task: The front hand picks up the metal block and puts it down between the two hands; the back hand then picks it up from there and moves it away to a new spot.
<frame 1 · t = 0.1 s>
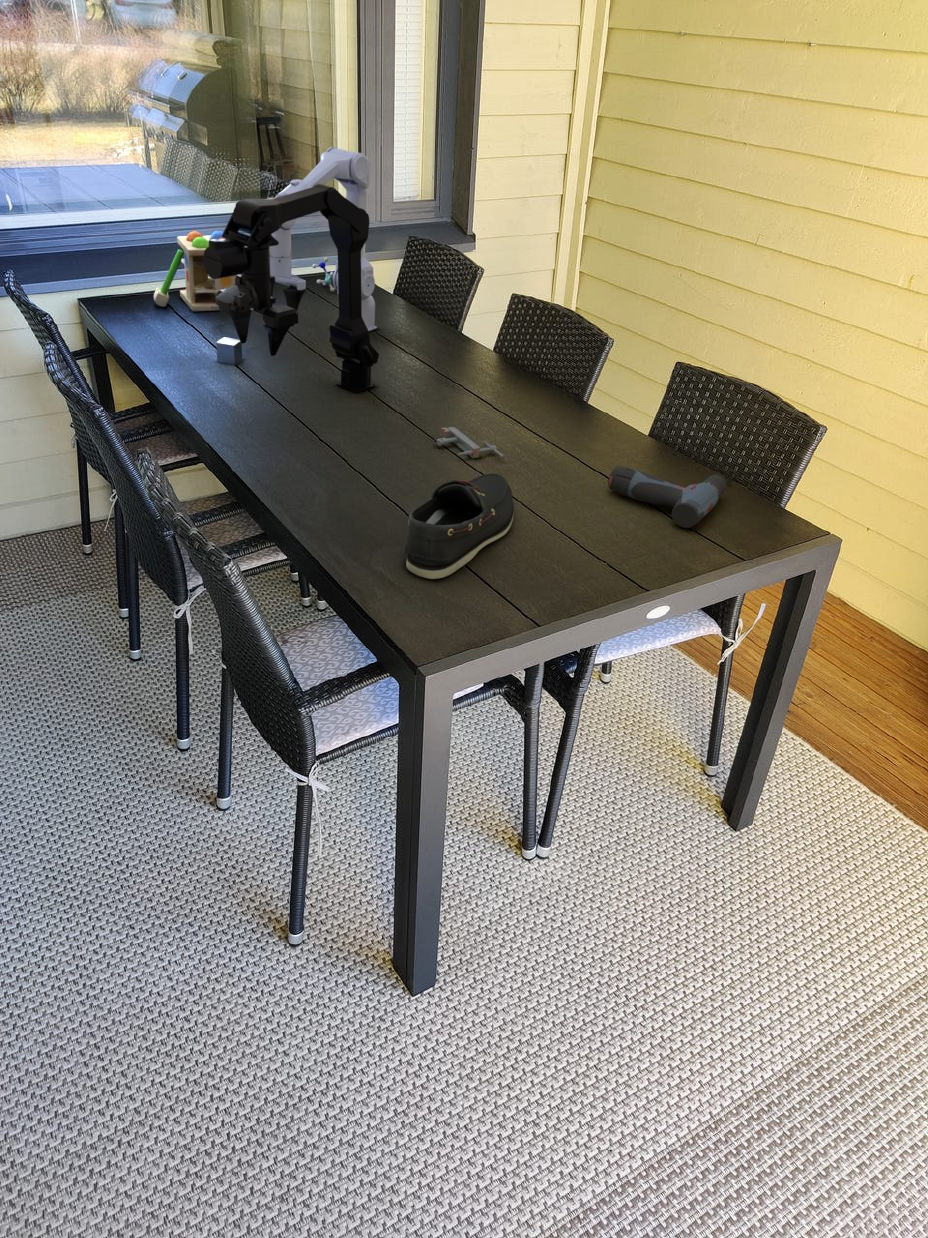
front hand: (258, 349, 199), 15 cm above the table, tool pointing down, fingers open, 9 cm apart
back hand: (280, 313, 233), 10 cm above the table, tool pointing down, fingers open, 7 cm apart
boat shoe: (460, 536, 172), on the table
metal block: (230, 360, 233), on the table
molecular model: (331, 287, 289), on the table
clamp: (466, 451, 202), on the table
pounding bench toy: (197, 303, 266), on the table
power drill: (664, 499, 191), on the table
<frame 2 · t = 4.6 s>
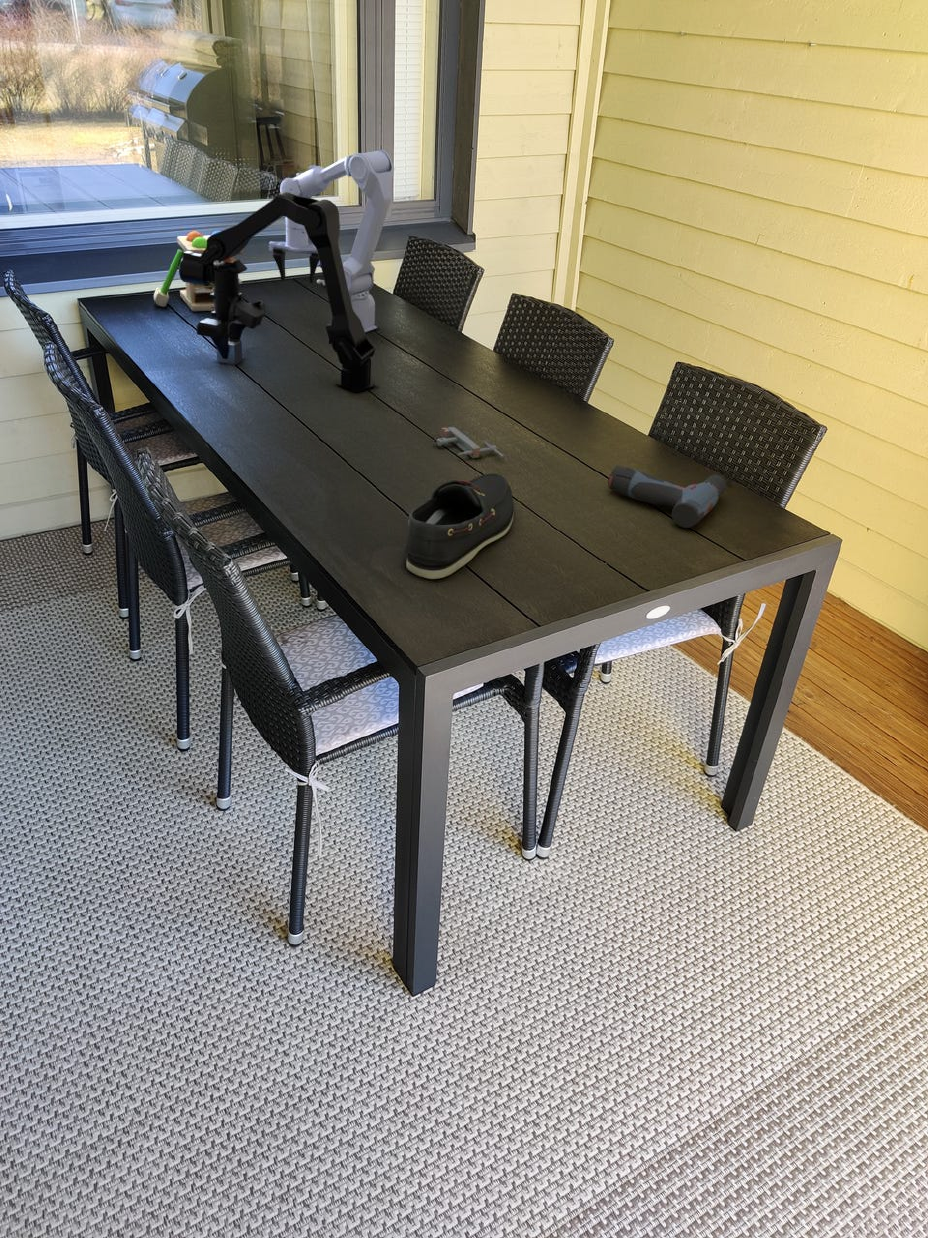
front hand: (229, 355, 232), 1 cm above the table, tool pointing down, fingers closed on metal block, 4 cm apart
back hand: (297, 280, 262), 9 cm above the table, tool pointing down, fingers open, 7 cm apart
metal block: (230, 360, 233), on the table, touching front hand
everything else where it was.
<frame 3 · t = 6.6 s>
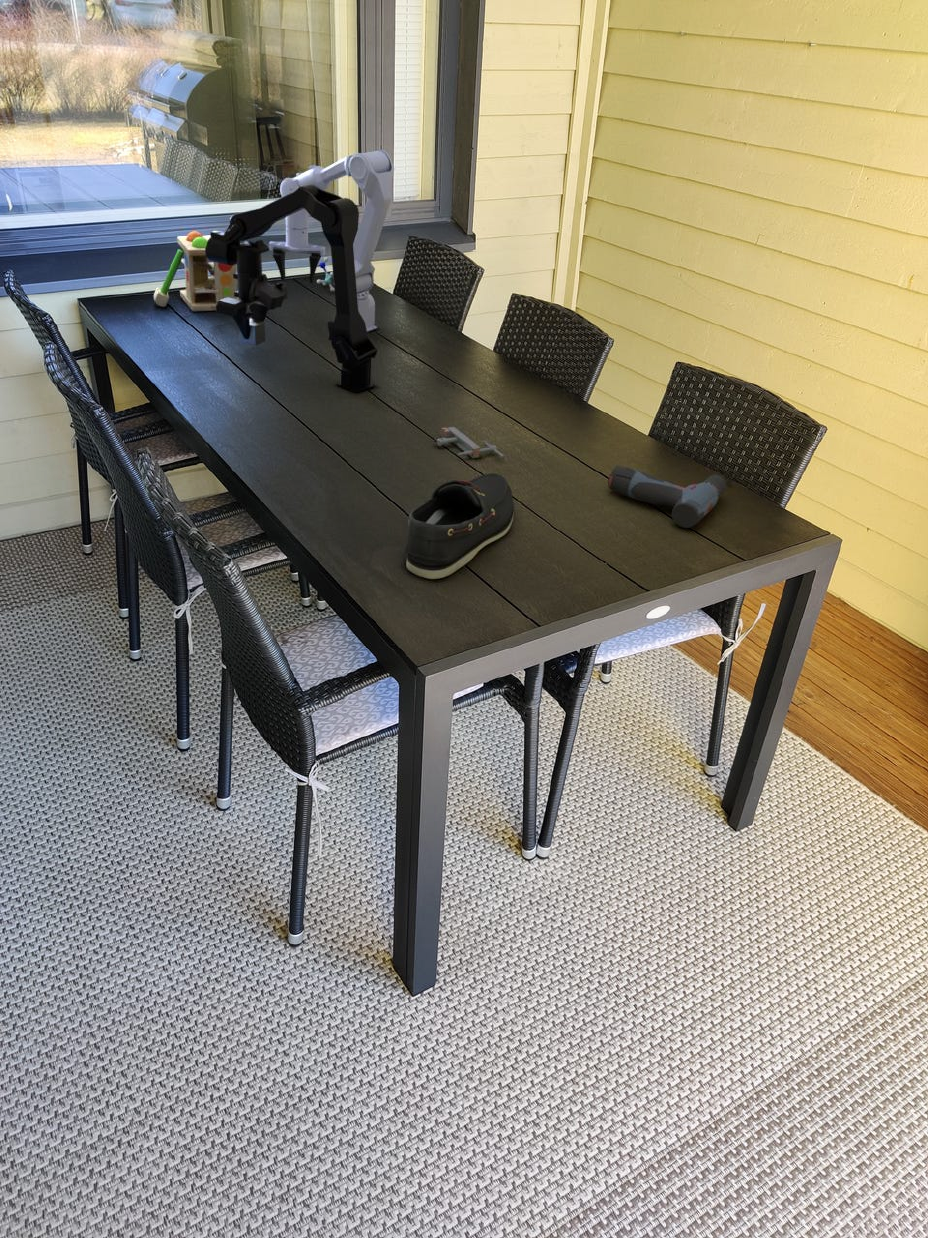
front hand: (252, 336, 234), 5 cm above the table, tool pointing down, fingers closed on metal block, 4 cm apart
back hand: (297, 280, 262), 9 cm above the table, tool pointing down, fingers open, 7 cm apart
metal block: (252, 341, 234), point 4 cm above the table, touching front hand
everything else where it was.
when the front hand's fingers open (2 cm above the table, at t = 8.9 s): metal block stays where it is, on the table.
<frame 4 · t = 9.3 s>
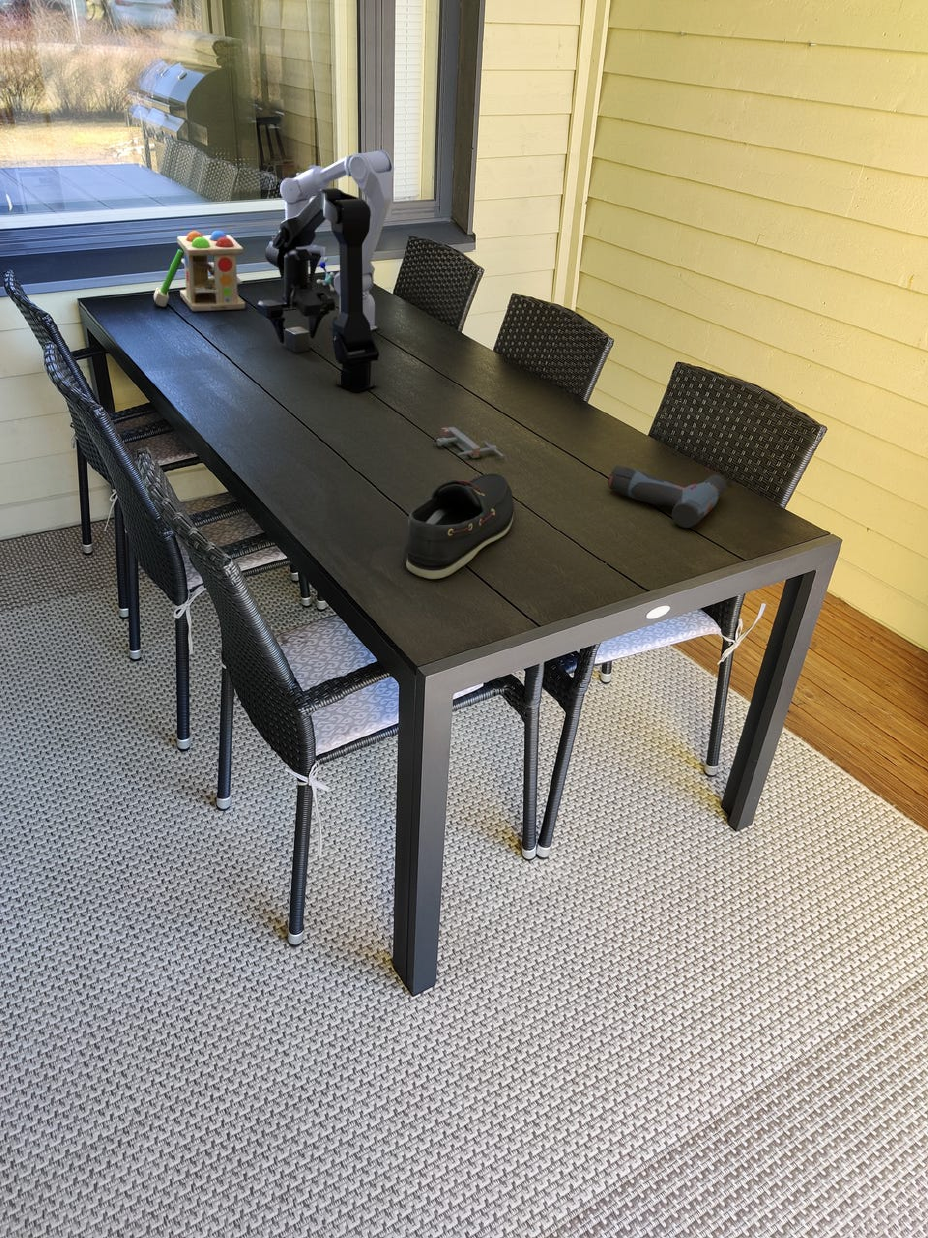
front hand: (297, 340, 242), 2 cm above the table, tool pointing down, fingers open, 8 cm apart
back hand: (297, 280, 262), 9 cm above the table, tool pointing down, fingers open, 7 cm apart
metal block: (297, 348, 243), on the table
everything else where it was.
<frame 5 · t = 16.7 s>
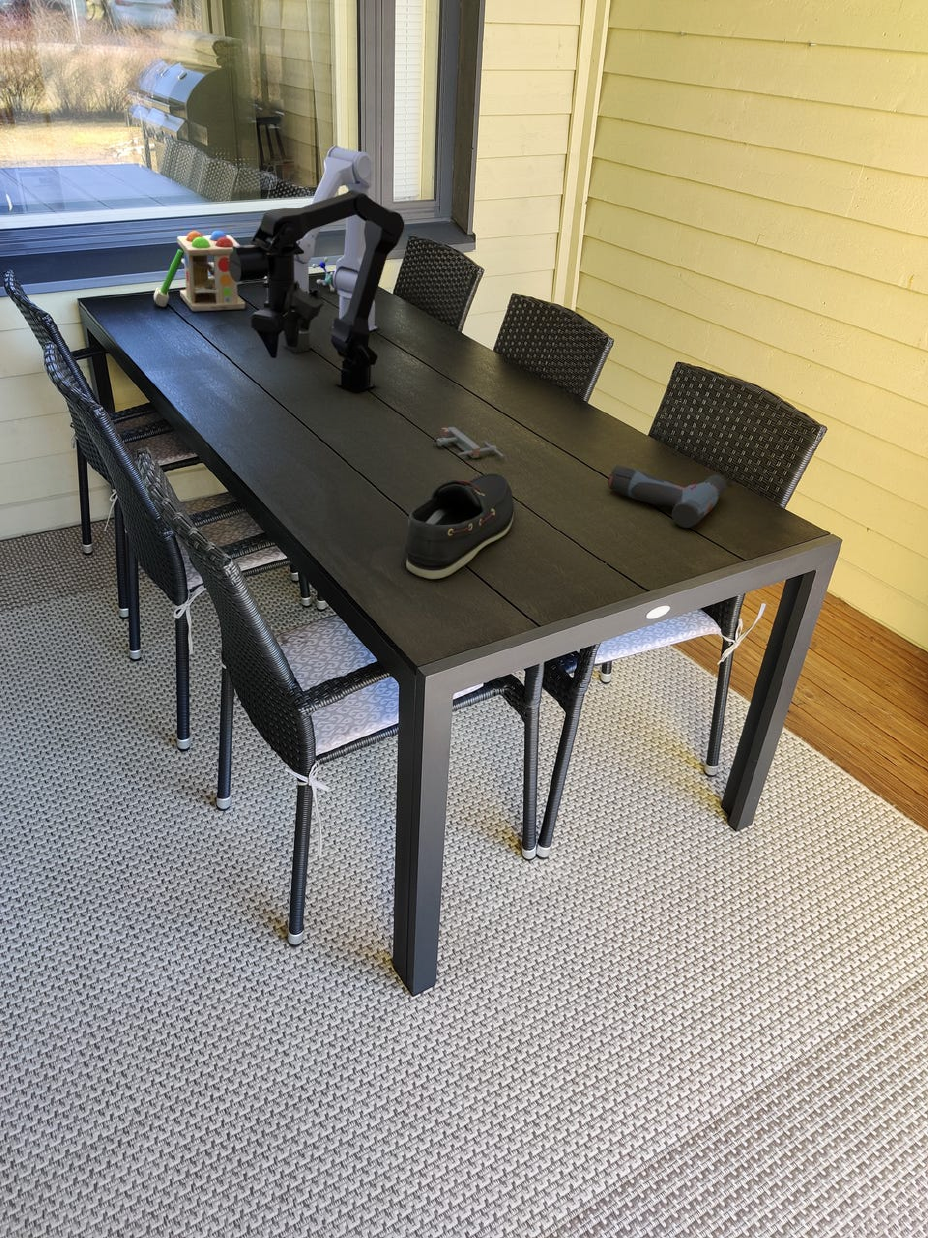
front hand: (282, 350, 210), 11 cm above the table, tool pointing down, fingers open, 9 cm apart
back hand: (297, 342, 243), 2 cm above the table, tool pointing down, fingers closed on metal block, 6 cm apart
metal block: (297, 348, 244), on the table, touching back hand
everything else where it was.
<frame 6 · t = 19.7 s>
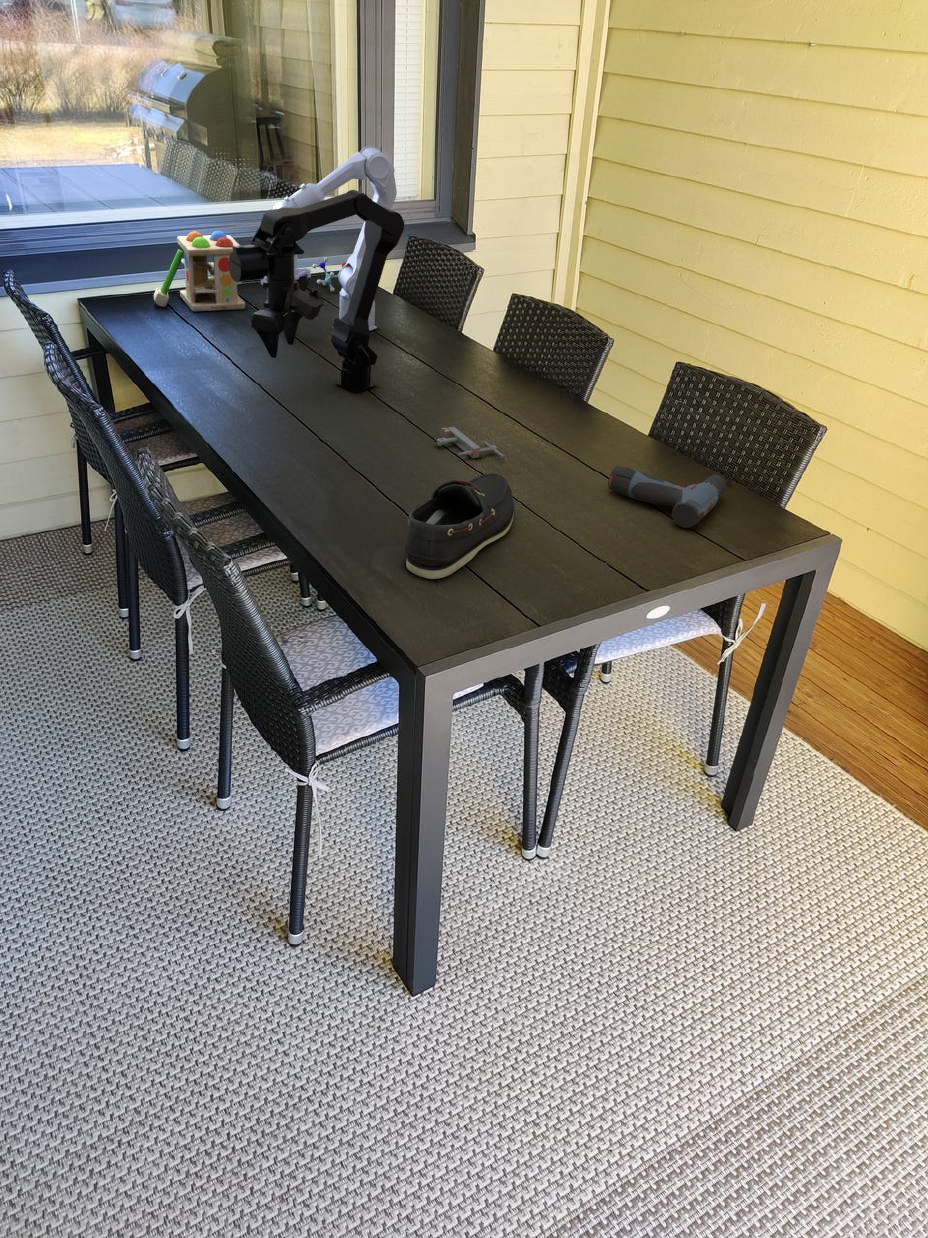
front hand: (282, 350, 210), 11 cm above the table, tool pointing down, fingers open, 9 cm apart
back hand: (286, 309, 251), 6 cm above the table, tool pointing down, fingers closed on metal block, 6 cm apart
metal block: (286, 315, 252), point 4 cm above the table, touching back hand
everything else where it was.
when the back hand's fingers open (3 cm above the table, at t = 22.7 s): metal block stays where it is, on the table.
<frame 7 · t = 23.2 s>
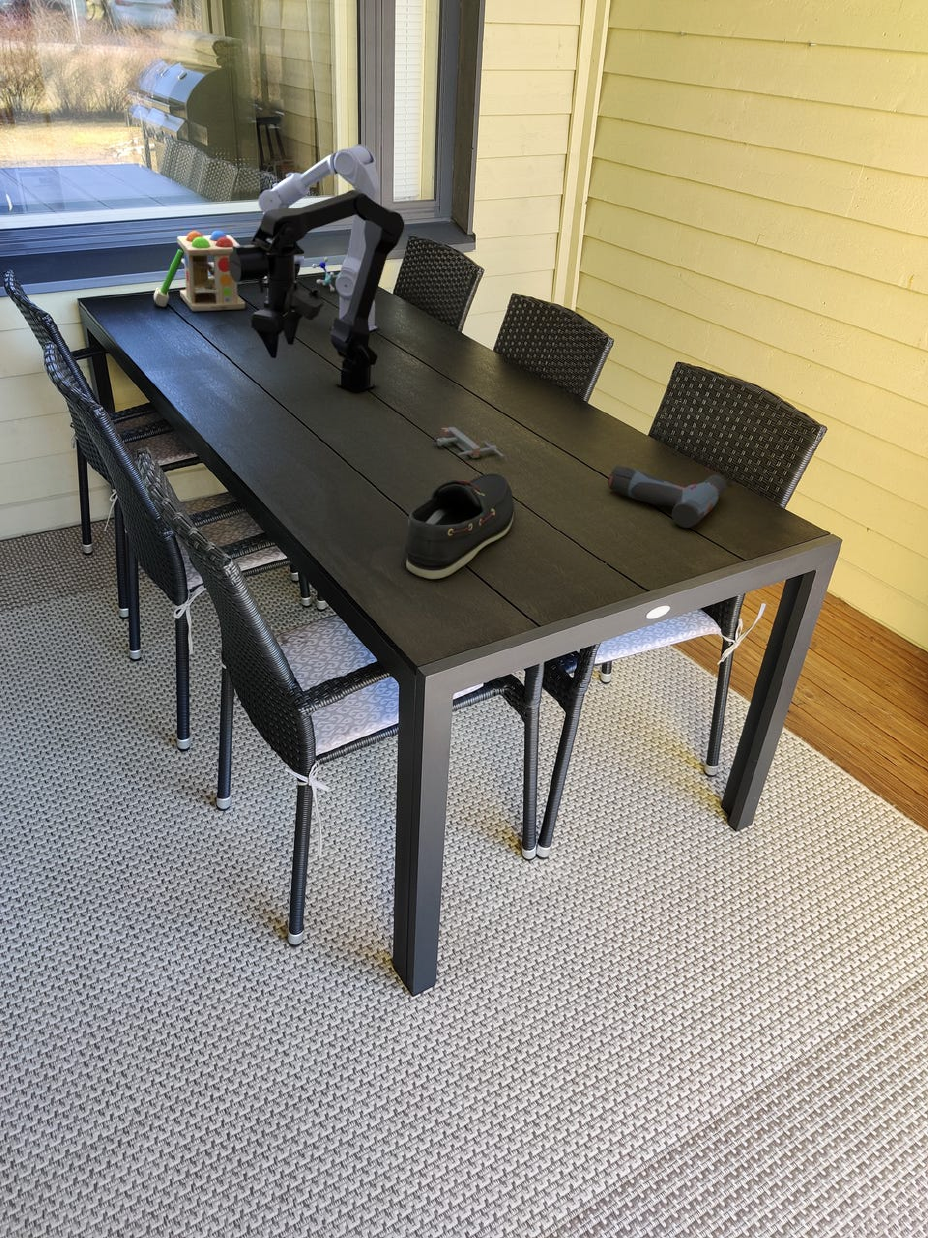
front hand: (282, 350, 210), 11 cm above the table, tool pointing down, fingers open, 9 cm apart
back hand: (276, 291, 261), 6 cm above the table, tool pointing down, fingers open, 7 cm apart
metal block: (277, 313, 265), on the table
everything else where it was.
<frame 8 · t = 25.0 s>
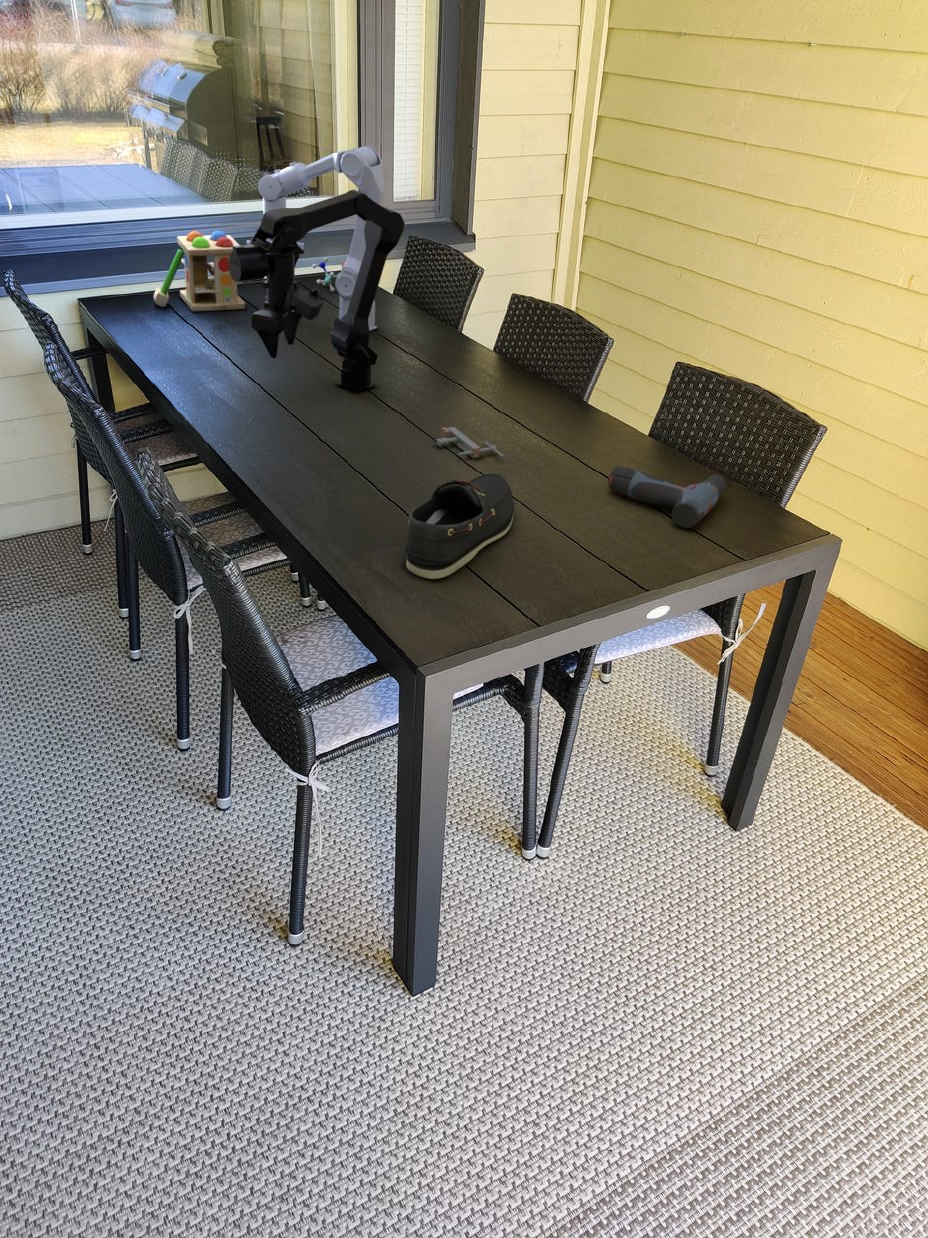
front hand: (282, 350, 210), 11 cm above the table, tool pointing down, fingers open, 9 cm apart
back hand: (276, 278, 259), 9 cm above the table, tool pointing down, fingers open, 7 cm apart
nothing on the table moved.
at the end: metal block inside the target area (0.0 cm from its centre), on the table; metal block tilted 0°; the two hands never held the metal block at the same time; the front hand is holding nothing; the back hand is holding nothing; metal block at rest at the end (0.0 cm/s) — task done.
